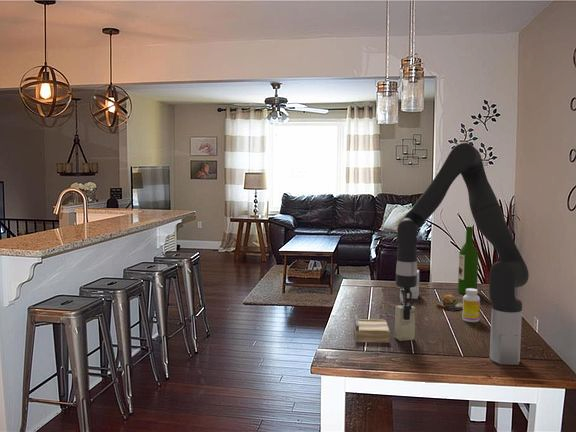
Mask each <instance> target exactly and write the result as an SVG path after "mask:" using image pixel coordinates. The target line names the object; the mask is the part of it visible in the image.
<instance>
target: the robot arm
mask: <svg viewBox="0 0 576 432" xmlns="http://www.w3.org/2000/svg"><path fill="white" fill-rule="evenodd" d="M460 175H461V177H462V179H463V181H464V183H465V187H466V189H467V195H468V202H469V209H470V211H471V215H472V218H473V219H474V220H473V221H474V223H475V225H476V227H477V229H478V230H479V232H480V233H481V234H482V236H483V237H484V238H486V239H487V241H488V242H489V243H490V244H491V245H492V246H493V248H494V249H495V251H496V253H497V255H498V258H499V261H496V262H494V263H493V264H492V266H491V267H490V270H489V275H488V277H489V278H488V281H489V283H488V284H489V285H488V286H489V291H488V293H489V298H490V299H489V300H490V302H491V313H490V314H491V316H490V334H489V335H490V338H489V339H490V343H489V359H490V360H491V361H492V362H494V363H496V364H498V365H509V366H510V365H511V366H512V365H513V366H515V365H516V366H520V361H521V341H522V340H521V338H522V337H521V336H522V319H523V318H522V317H523V315H522V314H523V302H522V300H521V299H519V298H516V291H515V290H516V288H521V287H523V286H525V285H526V284H527V282H528V280H529V277H530V276H529V275H530V273H529V270H528V266H527V264H526V261H525V260H524V258H523V257H522V256H523V255H521V253H520V251H519V249H518V247H517V244H516V243H515V241H514V238H513V236H512V232H511V231H510V229H509V227H508V224H507V222H506V219H505V216H504V213H503V210H502V208H501V206H500V203H499V201H498V199H497V196H496V194H495V192H494V190H493V188H492V186H491V184H490V182H489V180H488V178H487V174H486V171H485V167H484V163H483V158H482V155H481V153H480V151H479V150H478V149H477V148H476V147H475V146H473V144H470V143H468V142H460V143H458V144H455V146H454V147H453V148H452V149H451V151H450V152H449V154H448V155H447V157H446V159H445V161H444V162H443V164H442V165H441V168H440V169H439V170H438V173H436V176H435V177H434V178H433V180H432V181H431V183H430V184H429V185H428V187H427V188H426V189H425V190H424V191H423V193H422V194H421V195H420V196H419V198H418V199H417V200H416V202H415V203H414V204H413V206H412V208H411V209H410V210H409V211H408V213H406V214H405V216H404V217H403V218H402V219H401V221H400V222H398V225H397V229H396V231H397V236H396V237H397V250H396V252H397V253H396V255H397V256H396V265H395V266H396V268H395V286H397V287H400V289H399V302H400V305H403V309H404V313H403V319H404V320H409V319H410V310H411V308H412V307H411V305H412V302H413V298H412V292H411V290H410V288H411V287H415V286H416V285H417V270H418V262H417V261H418V248H417V243H418V242H417V241H418V240H417V238H418V231H419V230H420V229H421V227H422V226H423V225H424V223H425V222H426V221H427V220H428V219H429V218H430V217H431V216H432V215H433V214H434V213H435V211H436V210H437V209H438V207H439V206H440V205H441V203H442V202H443V201H444V198H445V197H446V195H447V193H448V191H449V189H450V187H451V186H452V184H453V183H454V181H455V180H456V179H457V177H459V176H460ZM406 305H409V306H406Z"/></svg>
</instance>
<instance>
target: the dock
mask: <svg viewBox="0 0 576 432" xmlns="http://www.w3.org/2000/svg"><path fill="white" fill-rule="evenodd" d="M353 316H354V320H353V321H354V322H353V323H354V324H353V325H354V326H353V327H354V328H353V330H354V337H355V338H354V339H355V343H382V344H385V343H387V344H388V343H390V337H391V333H390V328H389V325H388V323H387V320H386V319H373V318H372V319H370V318H369V319H366V318H365V319H363V318H362V319H361V318H358V314H354V315H353Z"/></svg>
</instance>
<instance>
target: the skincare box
mask: <svg viewBox="0 0 576 432" xmlns="http://www.w3.org/2000/svg"><path fill="white" fill-rule="evenodd" d="M406 306H409V304H407V305H406ZM394 307H395V308H394V309H395V311H394V338H395V339H396V340H397V341H399V342H402V341H403V342H404V341H414V340H415V336H416V335H415V334H416V333H415V330H416V329H415V328H416V307H415V306H413V305H412V304H411V307H412V308H411V310H410V319H409V320H404V319H403V313H404V309H403V305H401V304H399V305H395V306H394Z"/></svg>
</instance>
